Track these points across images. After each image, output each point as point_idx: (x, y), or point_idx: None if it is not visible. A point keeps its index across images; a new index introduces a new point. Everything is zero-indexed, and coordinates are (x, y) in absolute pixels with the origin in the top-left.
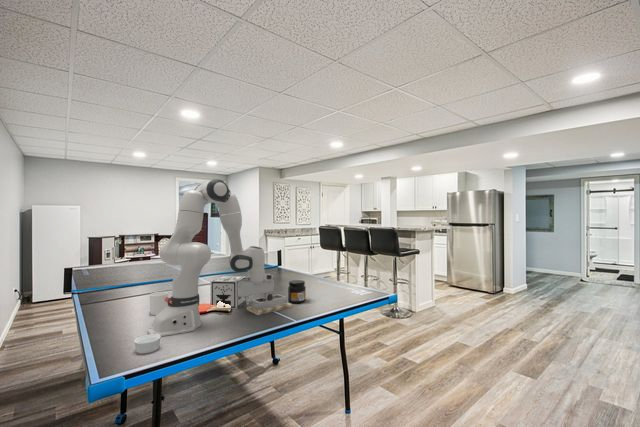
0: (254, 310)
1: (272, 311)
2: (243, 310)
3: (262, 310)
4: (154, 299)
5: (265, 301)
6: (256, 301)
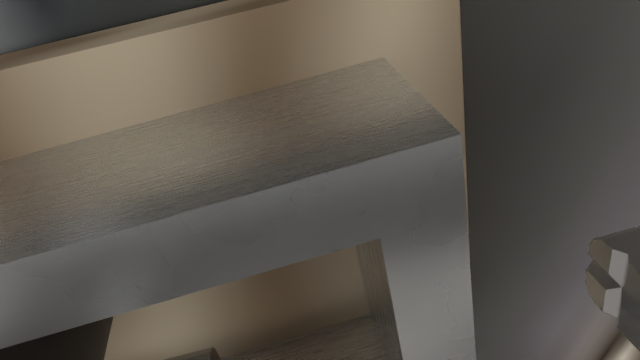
0: (453, 123)
1: (37, 47)
2: (500, 304)
3: (303, 42)
4: None
5: (200, 231)
6: (440, 312)
